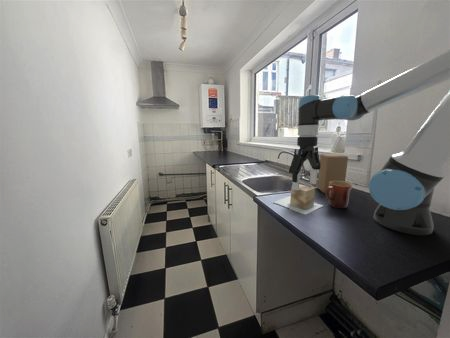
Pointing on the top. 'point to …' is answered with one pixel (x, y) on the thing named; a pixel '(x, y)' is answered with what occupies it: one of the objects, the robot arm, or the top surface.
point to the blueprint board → (286, 203)
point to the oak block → (302, 197)
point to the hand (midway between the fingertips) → (304, 186)
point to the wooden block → (331, 170)
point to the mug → (338, 193)
